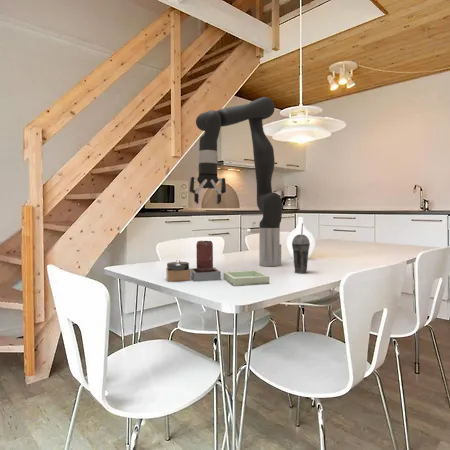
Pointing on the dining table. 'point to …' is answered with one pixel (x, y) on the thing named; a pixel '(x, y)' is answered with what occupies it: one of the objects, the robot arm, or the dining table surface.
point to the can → (204, 256)
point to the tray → (246, 278)
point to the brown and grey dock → (189, 273)
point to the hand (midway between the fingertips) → (207, 203)
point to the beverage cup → (300, 252)
